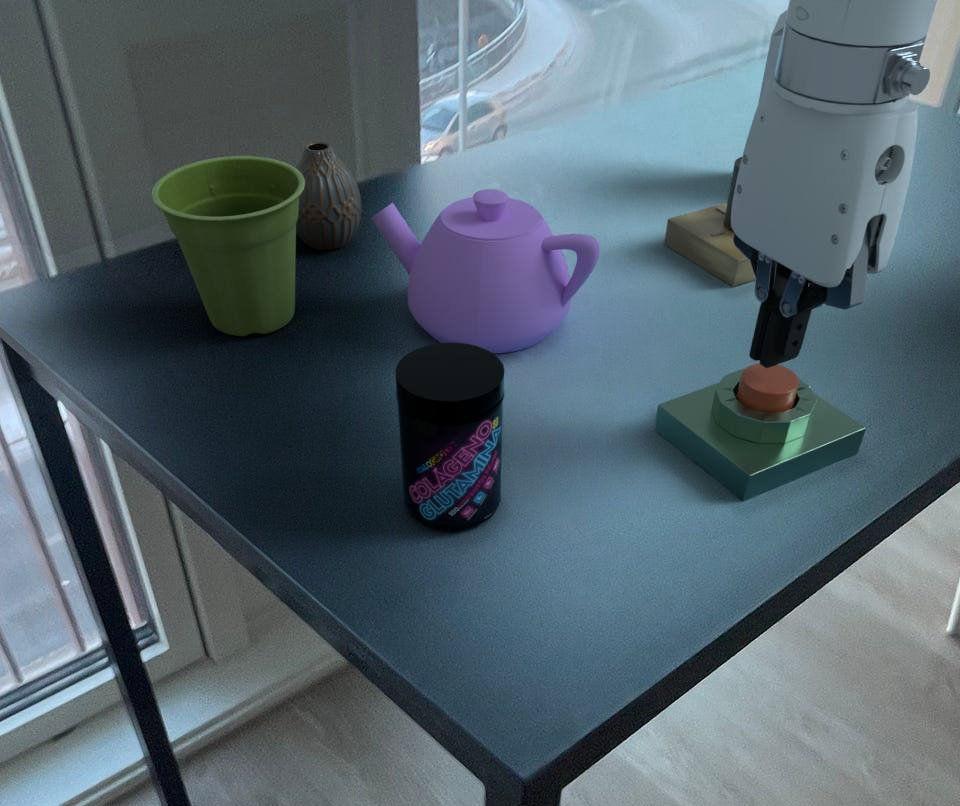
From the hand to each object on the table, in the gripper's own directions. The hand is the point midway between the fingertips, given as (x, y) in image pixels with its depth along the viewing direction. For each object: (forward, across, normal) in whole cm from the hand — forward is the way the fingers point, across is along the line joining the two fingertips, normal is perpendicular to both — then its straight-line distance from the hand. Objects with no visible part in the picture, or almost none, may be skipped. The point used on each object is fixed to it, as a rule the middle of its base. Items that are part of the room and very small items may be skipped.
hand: (773, 357), depth 69 cm
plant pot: (+7, +36, +25) cm, 44 cm away
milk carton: (+7, +33, -33) cm, 47 cm away
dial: (+4, +24, -20) cm, 32 cm away
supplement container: (+7, +5, +23) cm, 24 cm away
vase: (+7, +46, +13) cm, 48 cm away
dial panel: (+7, +24, -20) cm, 32 cm away
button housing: (+7, 0, 0) cm, 7 cm away
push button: (+3, 0, 0) cm, 3 cm away
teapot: (+7, +26, +8) cm, 28 cm away
